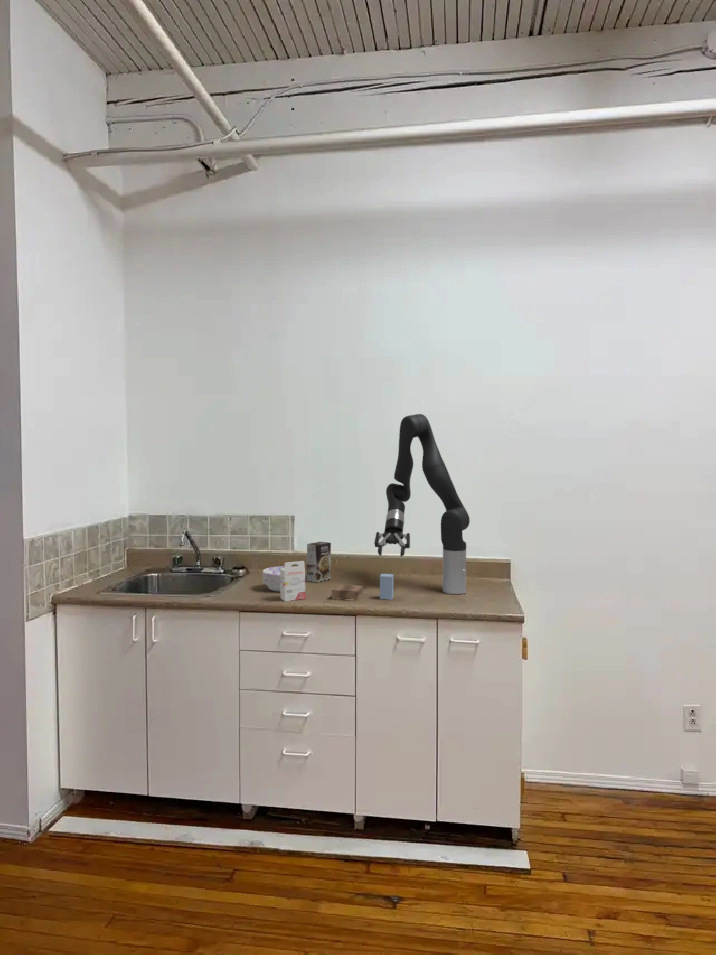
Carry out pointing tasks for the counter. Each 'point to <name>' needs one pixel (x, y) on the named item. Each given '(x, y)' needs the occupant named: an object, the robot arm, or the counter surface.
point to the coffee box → (318, 561)
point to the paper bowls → (272, 577)
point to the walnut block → (347, 592)
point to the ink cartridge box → (292, 581)
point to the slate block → (386, 586)
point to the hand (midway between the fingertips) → (390, 555)
